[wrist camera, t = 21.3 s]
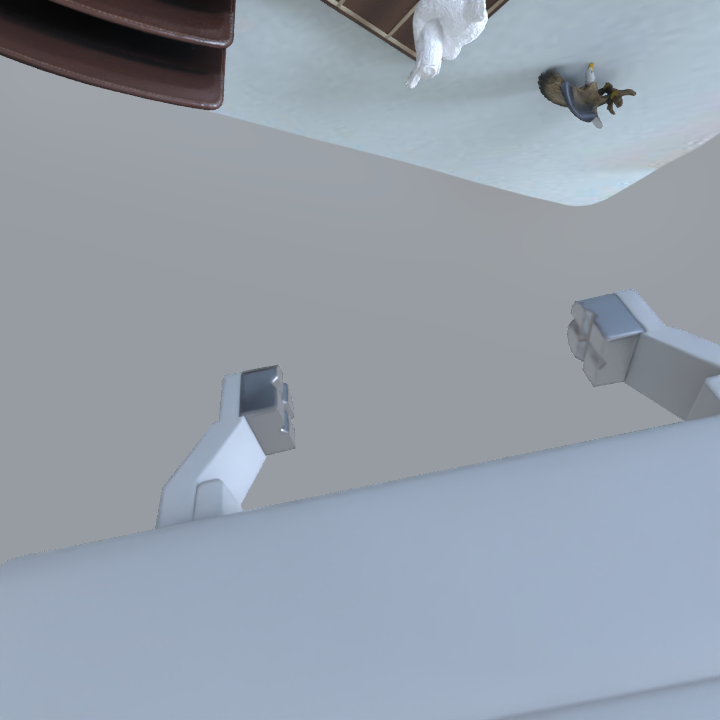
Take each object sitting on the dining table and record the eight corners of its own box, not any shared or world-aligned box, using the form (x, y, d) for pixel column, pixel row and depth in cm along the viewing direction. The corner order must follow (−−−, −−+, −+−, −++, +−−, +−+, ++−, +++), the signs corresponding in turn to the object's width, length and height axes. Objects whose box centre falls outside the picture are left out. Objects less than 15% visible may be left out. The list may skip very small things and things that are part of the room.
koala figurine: (422, 2, 49) (426, 109, 46) (375, -48, 44) (377, 68, 41) (501, -61, 43) (511, 58, 40) (457, -126, 38) (466, 4, 36)
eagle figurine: (640, 52, 55) (562, 62, 54) (635, 123, 58) (561, 134, 57) (598, 66, 62) (529, 75, 61) (596, 129, 65) (530, 138, 64)
